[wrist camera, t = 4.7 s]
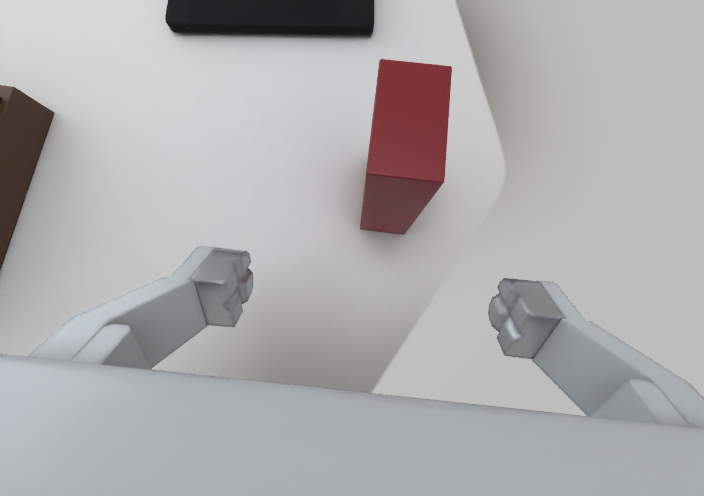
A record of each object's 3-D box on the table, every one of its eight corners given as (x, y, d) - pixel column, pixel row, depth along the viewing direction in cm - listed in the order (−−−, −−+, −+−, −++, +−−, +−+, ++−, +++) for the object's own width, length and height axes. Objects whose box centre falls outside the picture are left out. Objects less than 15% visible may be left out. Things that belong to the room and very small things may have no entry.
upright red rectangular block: (404, 234, 23) (444, 182, 13) (359, 229, 23) (365, 173, 13) (411, 162, 24) (452, 63, 14) (368, 157, 24) (379, 56, 14)
